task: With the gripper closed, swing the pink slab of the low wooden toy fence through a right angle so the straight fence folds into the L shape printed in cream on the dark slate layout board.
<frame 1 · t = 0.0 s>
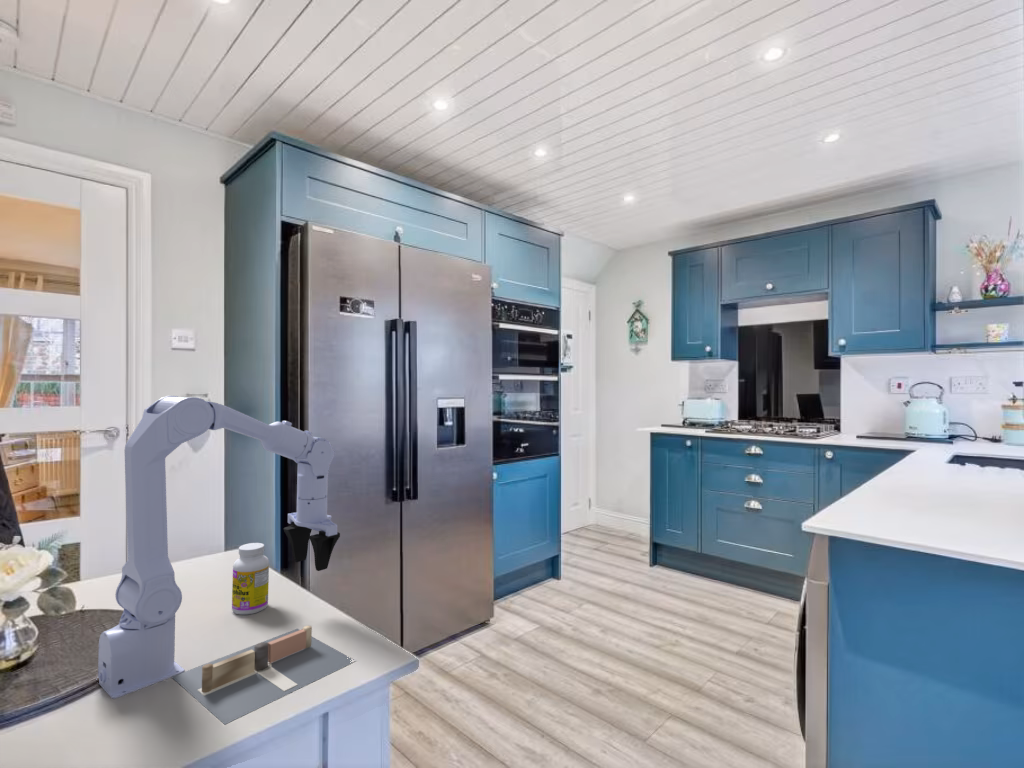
hand: (310, 565, 104), 10 cm above the counter, tool pointing down, fingers open, 7 cm apart
pink slab: (290, 643, 88), point 2 cm above the counter, hinge at 0.0°
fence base: (260, 667, 84), resting on layout board
layout board: (267, 671, 84), on the counter
supplement bottle: (250, 609, 107), on the counter
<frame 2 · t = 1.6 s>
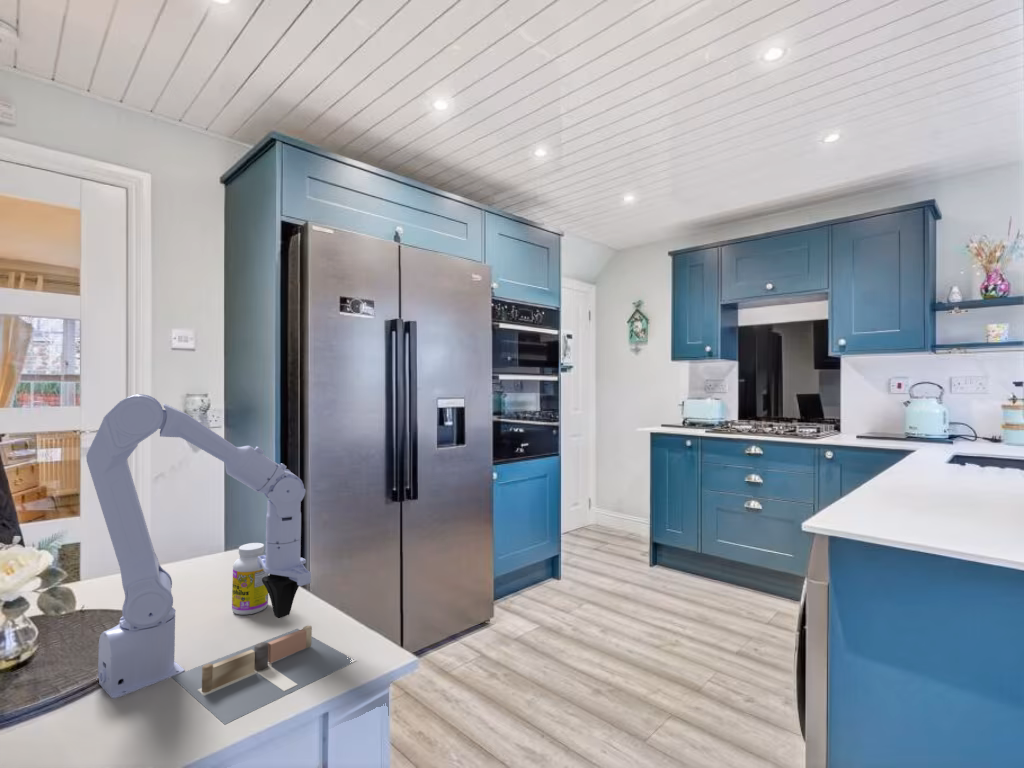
hand: (282, 615, 93), 5 cm above the counter, tool pointing down, fingers closed
nothing on the counter moved.
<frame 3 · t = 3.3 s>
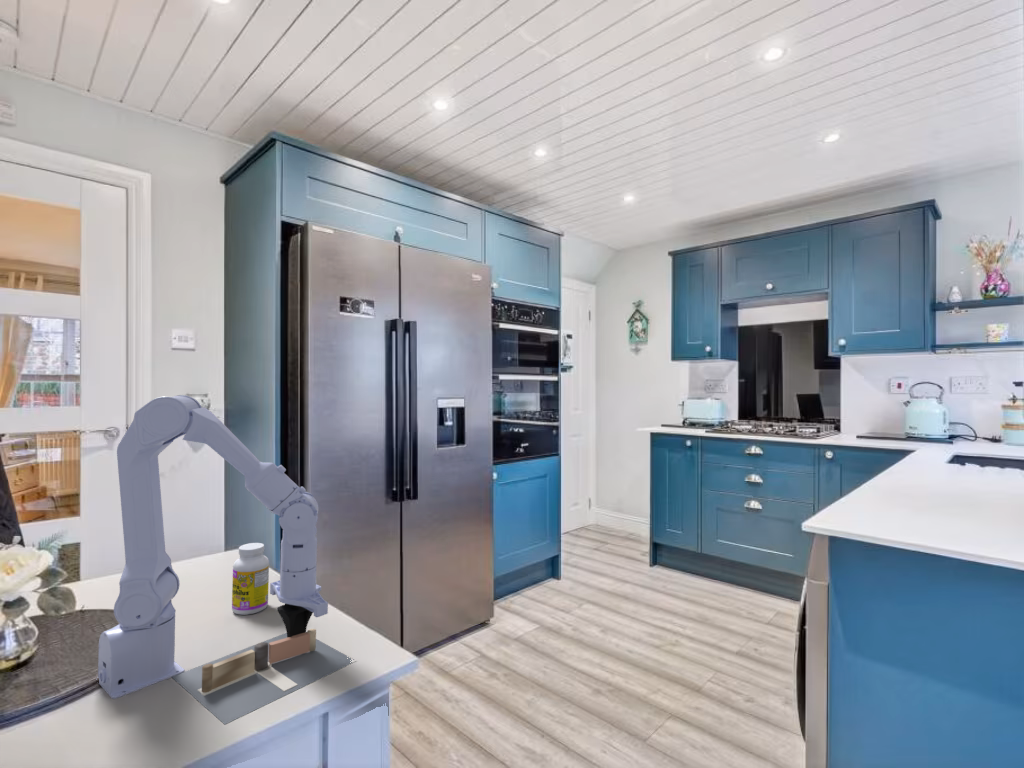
hand: (296, 646, 89), 2 cm above the counter, tool pointing down, fingers closed, pressing on pink slab
pink slab: (293, 645, 88), point 2 cm above the counter, hinge at -11.5°, touching gripper
everything else where it was.
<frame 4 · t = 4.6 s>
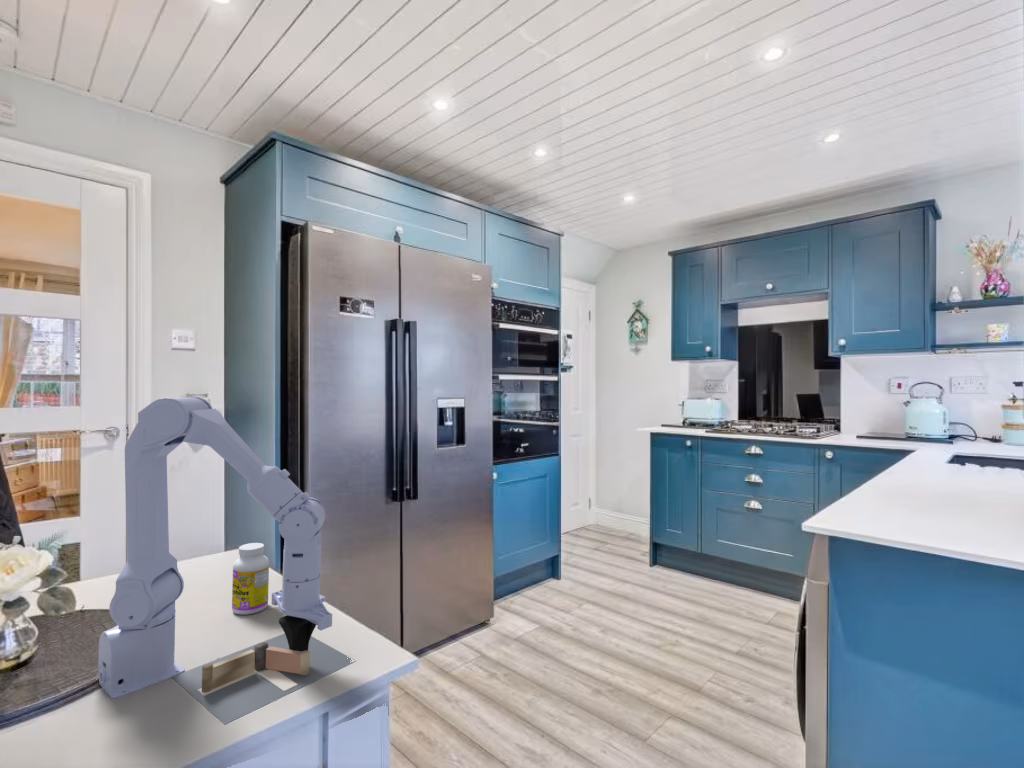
hand: (299, 659, 85), 2 cm above the counter, tool pointing down, fingers closed, pressing on pink slab
pink slab: (288, 659, 83), point 2 cm above the counter, hinge at -66.8°, touching gripper
everything else where it was.
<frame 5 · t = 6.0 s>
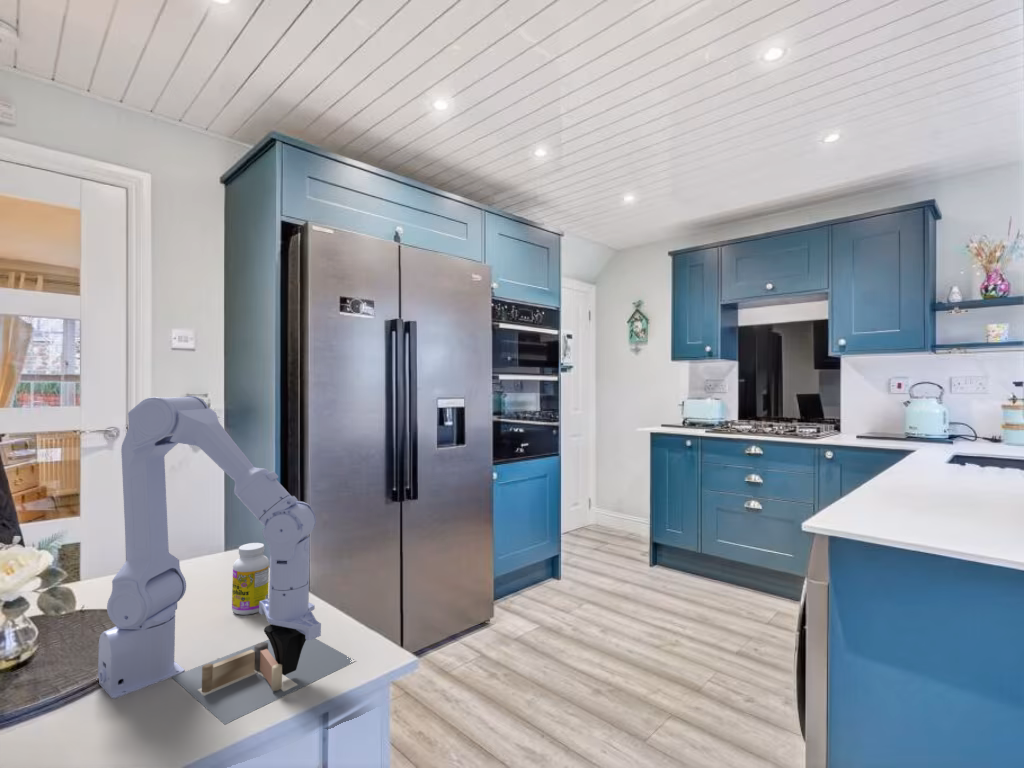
hand: (287, 670, 81), 2 cm above the counter, tool pointing down, fingers closed
pink slab: (270, 668, 81), point 2 cm above the counter, hinge at -101.8°, touching gripper
everything else where it was.
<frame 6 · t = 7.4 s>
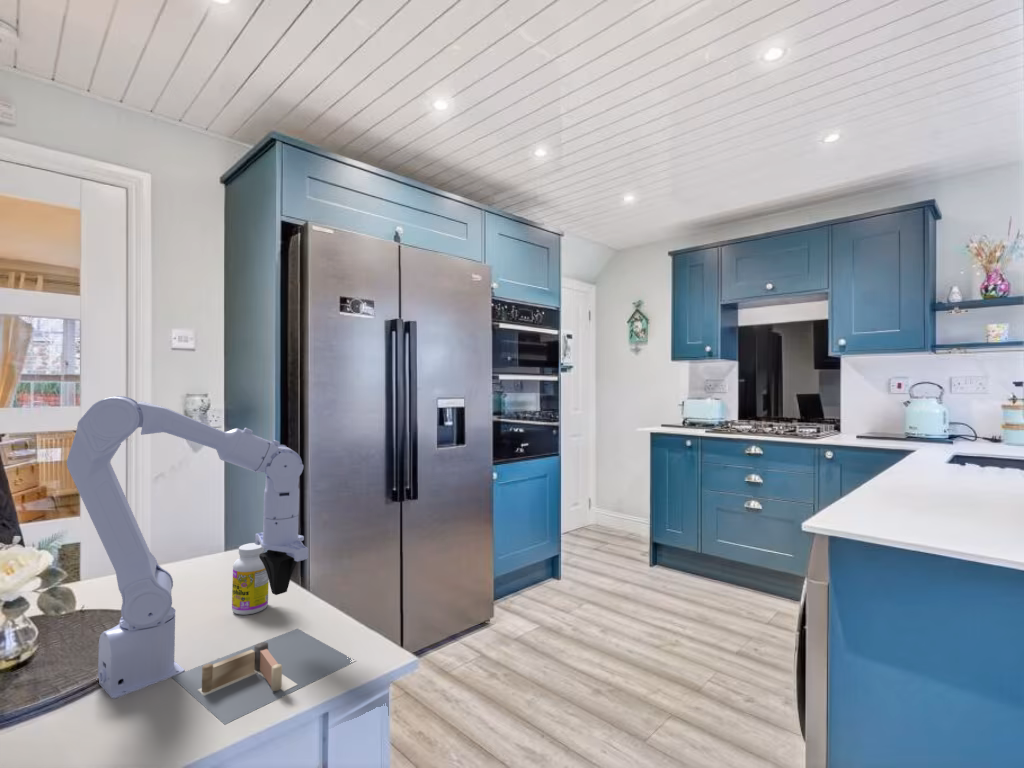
hand: (279, 592, 92), 9 cm above the counter, tool pointing down, fingers closed
pink slab: (270, 668, 81), point 2 cm above the counter, hinge at -102.0°
everything else where it was.
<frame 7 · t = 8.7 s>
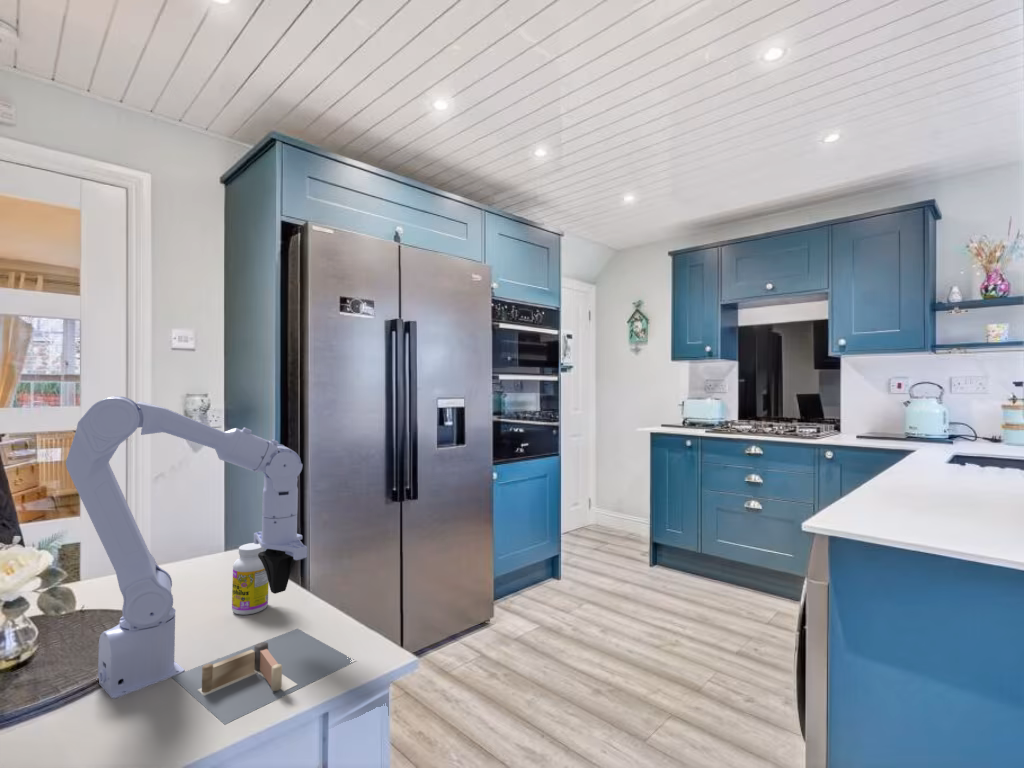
hand: (278, 591, 93), 9 cm above the counter, tool pointing down, fingers closed
nothing on the counter moved.
at the end: pink slab at -102° (first picture: +0°); supplement bottle moved 0.2 cm from its start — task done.
